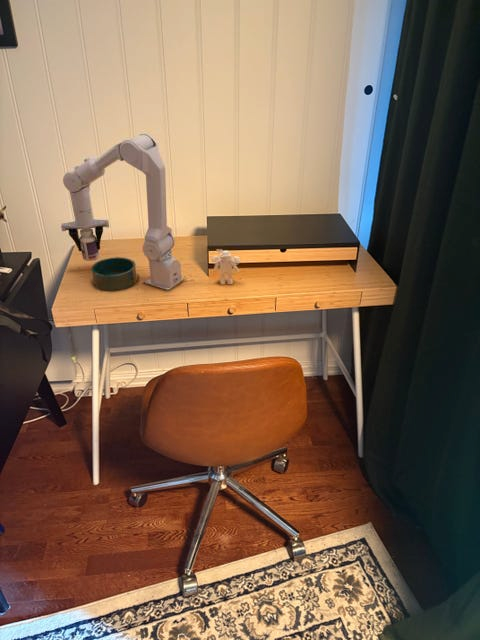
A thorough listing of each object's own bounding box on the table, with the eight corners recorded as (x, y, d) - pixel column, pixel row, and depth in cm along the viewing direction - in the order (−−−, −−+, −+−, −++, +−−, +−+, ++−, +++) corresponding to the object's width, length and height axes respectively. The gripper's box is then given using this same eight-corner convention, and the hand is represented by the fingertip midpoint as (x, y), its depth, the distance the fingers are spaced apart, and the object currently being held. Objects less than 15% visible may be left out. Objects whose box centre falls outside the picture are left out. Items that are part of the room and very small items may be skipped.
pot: (138, 269, 159) (136, 256, 157) (136, 289, 148) (134, 275, 145) (96, 272, 158) (94, 258, 155) (91, 292, 146) (88, 277, 144)
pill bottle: (102, 254, 160) (97, 227, 155) (96, 261, 155) (91, 233, 150) (86, 254, 160) (81, 226, 155) (80, 261, 156) (74, 233, 151)
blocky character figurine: (211, 284, 150) (210, 250, 144) (213, 279, 154) (212, 244, 147) (240, 285, 150) (240, 250, 143) (241, 280, 153) (241, 245, 147)
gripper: (106, 203, 154) (112, 242, 161) (59, 206, 151) (67, 246, 158) (106, 210, 148) (112, 250, 155) (57, 214, 145) (66, 255, 152)
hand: (89, 249), depth 156 cm, fingers closed on pill bottle, 5 cm apart
